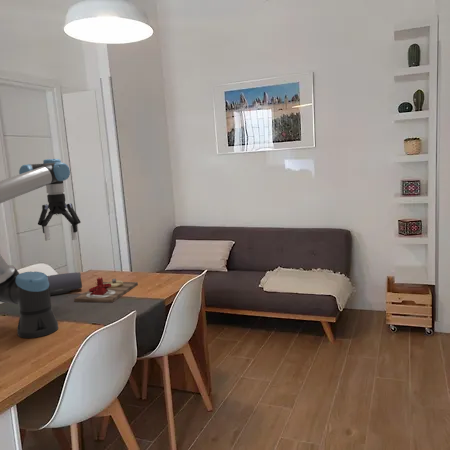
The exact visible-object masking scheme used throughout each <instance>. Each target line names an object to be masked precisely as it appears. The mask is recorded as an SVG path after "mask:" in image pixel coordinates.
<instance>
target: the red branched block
mask: <svg viewBox="0 0 450 450" xmlns="http://www.w3.org/2000/svg"><path fill="white" fill-rule="evenodd" d="M103 279H104V278H103V277H97V278H96V282H95V283H94V284H96V286H93V287H91V288H89V289H88V291H89V292H90V293H91V292H92V293H91V294H90V295H104V294H105V293H107V291H108V290H107V288H110V287H111V284H109V283H108V284H103V282H104V280H103ZM96 289H97V290H96Z"/></svg>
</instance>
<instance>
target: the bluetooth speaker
mask: <svg viewBox="0 0 450 450" xmlns="http://www.w3.org/2000/svg"><path fill="white" fill-rule="evenodd" d="M81 274H82V273H81V272H78V271H77V272H67V273H58V274H52V275H47V277H48V281H49V289H50V296H54V295H61V294H67V293H71V291H74V290H75V291H76V290H78V289H82V288H83V283H82V275H81Z"/></svg>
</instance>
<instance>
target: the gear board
mask: <svg viewBox="0 0 450 450" xmlns="http://www.w3.org/2000/svg"><path fill="white" fill-rule="evenodd" d="M108 283H109V284H111V287H110V288H107V290H108V291H107V293H105V294H104V295H90V294H91V293H92V292H91V293H90V292H89V290H87V291H85V292H83V293H82V294H80V295H78V296H77V297H75V298H74V299H73V301H74V302H75V303H76V302H77V303H114V302H116V301H117V300H118V299H119V298H121V297H122V296H124V295H125V294H127V293H128V292H130V291H132V289H134V288H135V287H137V286H138V285H139V284H138V281H122V280H117V279H116V278H112V279H111V281H103V284H108ZM96 290H97V289H96Z"/></svg>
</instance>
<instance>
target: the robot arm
mask: <svg viewBox="0 0 450 450" xmlns="http://www.w3.org/2000/svg"><path fill="white" fill-rule="evenodd" d="M42 161H43V163H33V164H31V163H28V164H22V165H21V166H20V167H19V170H18V173H19V174H16V175H14V176H11V177H8V178H4V179H2V180H0V204H2V203H5V202H7V201H10V200H12V199H15V198H17V197H21V196H22V195H25V194H28V193H30V192H33V191H35V190H38V189H40V188H42V187H45V188H46V194H47V195H46V197H47V203H48V204H42V206H41V209H42V210H41V213H40V215H39V217H38V222H37V225H38V226H41V228H42V233H43V234H44V240H45V241H46V242H47V241H49V240H51V234H50V226H49V225H48V224H49V223H50V220H51V219H52V217H53V216H54V215H62V216H63V217H65V219H66V220H67V221H68V222H69V223H70V224H71V225H70V233H71V234H70V235H71V240H72V241H75V240H77V232H78V225H79V224H81V223H82V222H81V219H80V218H79V216H78V214H77V213H76V211H75V210H74V207H73V203H72V202H71V203H66V194H65V193H64V192H65V184H64V183H65V182H64V181H67V180H68V179H69V178H70V174H71V170H70V169H71V168H70V167H69V166H68V164H67V163H65V162H62V160H61V159H60V158H46V159H43V160H42ZM47 276H48V275H47V274H45V272H41V271H23V272H21V273H20V272H19V271H18V269H17V268H16V266H14V265H12V264H8V262H7V261H6V260H5V259H4V257H3V255H1V254H0V303H5V304H8V303H9V304H15V305H18V308H19V320H18V323H17V324H18V325H17V329H16V331H17V336H18V338H23V339H34V338H40V337H45V336H47V335H50V334H52V333H55V332H56V331H57V330H58V329H59V322H58V320H57V318H56V316H55V314H54V311H53V309H52V302H51V301H52V300H51V299H52V298H51V295H50V289H49V281H48V277H47Z"/></svg>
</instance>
